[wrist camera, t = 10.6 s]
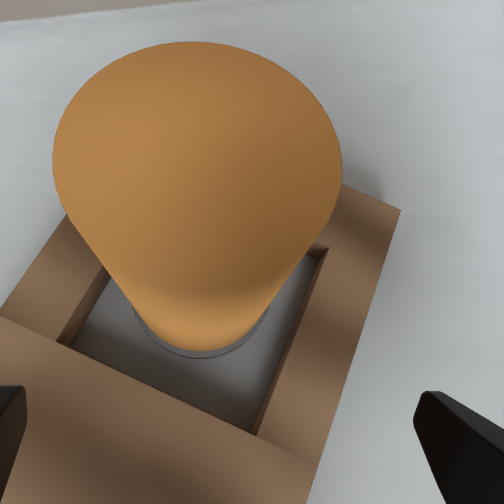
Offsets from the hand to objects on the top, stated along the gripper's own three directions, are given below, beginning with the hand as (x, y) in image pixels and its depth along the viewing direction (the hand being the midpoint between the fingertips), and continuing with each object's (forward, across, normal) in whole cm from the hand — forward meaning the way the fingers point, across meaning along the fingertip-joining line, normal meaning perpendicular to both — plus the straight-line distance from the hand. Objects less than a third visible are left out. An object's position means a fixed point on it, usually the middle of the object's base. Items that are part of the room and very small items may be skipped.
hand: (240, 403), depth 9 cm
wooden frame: (+11, +1, +5) cm, 12 cm away
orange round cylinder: (+12, 0, +4) cm, 13 cm away
